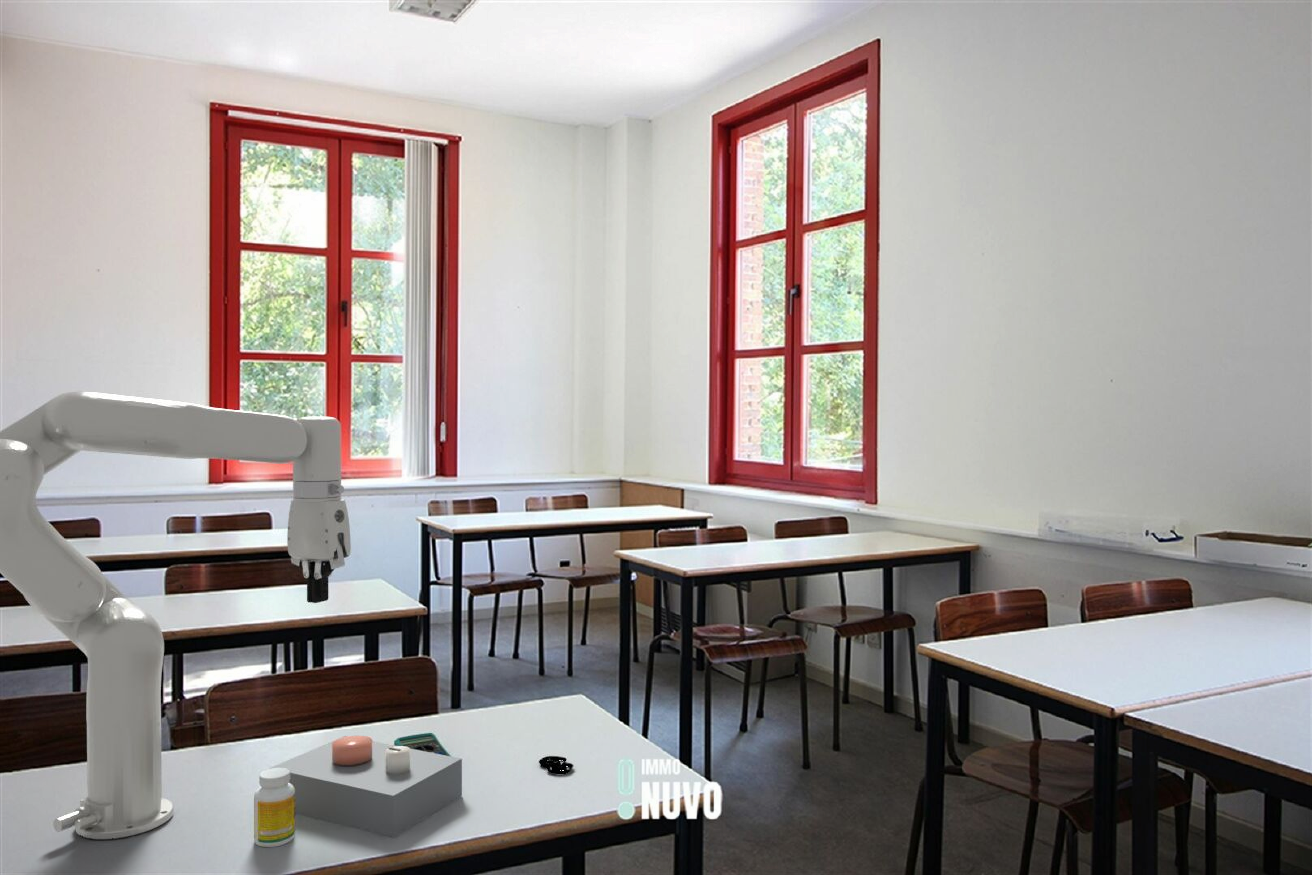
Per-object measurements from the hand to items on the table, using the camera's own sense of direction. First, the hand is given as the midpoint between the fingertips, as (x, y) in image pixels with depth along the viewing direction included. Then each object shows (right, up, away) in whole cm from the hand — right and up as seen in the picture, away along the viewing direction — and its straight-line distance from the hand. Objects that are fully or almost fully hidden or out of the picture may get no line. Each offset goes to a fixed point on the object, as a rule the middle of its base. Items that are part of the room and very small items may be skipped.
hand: (317, 601), depth 157 cm
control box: (+11, -29, -10) cm, 33 cm away
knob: (+17, -24, -13) cm, 32 cm away
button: (+9, -26, -9) cm, 29 cm away
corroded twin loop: (+39, -30, +5) cm, 49 cm away
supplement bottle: (+2, -30, -23) cm, 38 cm away
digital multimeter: (+16, -30, +8) cm, 34 cm away
